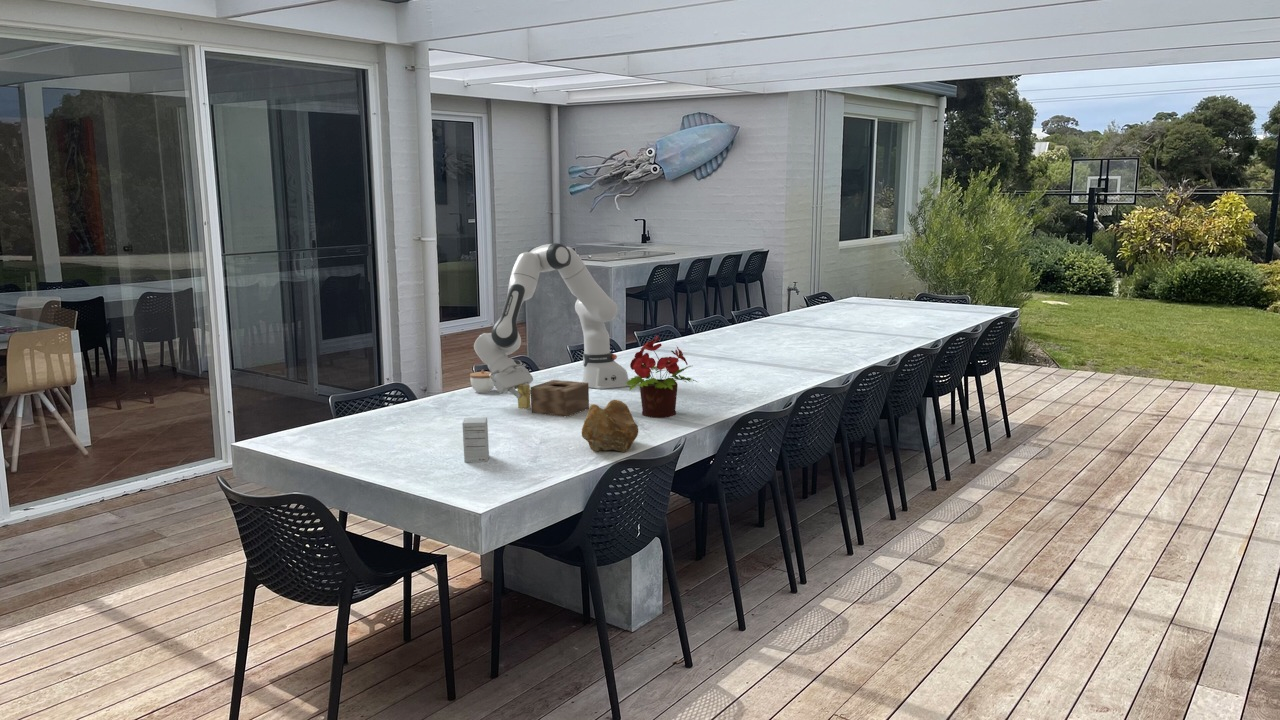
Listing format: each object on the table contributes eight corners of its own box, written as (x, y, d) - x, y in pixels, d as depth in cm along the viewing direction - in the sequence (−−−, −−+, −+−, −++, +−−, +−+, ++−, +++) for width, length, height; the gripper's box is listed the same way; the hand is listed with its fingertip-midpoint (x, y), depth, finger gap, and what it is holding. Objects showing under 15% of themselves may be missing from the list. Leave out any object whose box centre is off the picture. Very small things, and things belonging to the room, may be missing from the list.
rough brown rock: (619, 462, 295) (623, 415, 293) (573, 452, 302) (576, 406, 300) (652, 447, 316) (655, 403, 313) (608, 438, 323) (611, 395, 320)
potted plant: (650, 404, 374) (649, 328, 369) (709, 412, 359) (709, 333, 354) (604, 418, 351) (602, 338, 346) (665, 428, 335) (664, 343, 330)
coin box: (531, 413, 362) (530, 387, 360) (553, 404, 376) (553, 379, 374) (567, 416, 355) (566, 390, 353) (589, 408, 369) (588, 382, 367)
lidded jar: (498, 389, 409) (498, 367, 408) (492, 394, 399) (491, 372, 397) (474, 389, 410) (473, 367, 409) (467, 394, 400) (466, 372, 398)
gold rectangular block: (518, 408, 371) (517, 385, 370) (521, 406, 373) (521, 384, 372) (526, 408, 369) (526, 386, 368) (530, 407, 372) (529, 384, 370)
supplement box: (465, 456, 302) (464, 417, 300) (489, 455, 303) (487, 416, 300) (463, 462, 295) (461, 422, 293) (487, 461, 295) (486, 422, 293)
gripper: (492, 368, 363) (514, 395, 360) (522, 359, 381) (544, 385, 378) (483, 378, 365) (505, 406, 363) (513, 370, 383) (535, 395, 380)
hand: (525, 395), depth 370 cm, fingers open, 5 cm apart
